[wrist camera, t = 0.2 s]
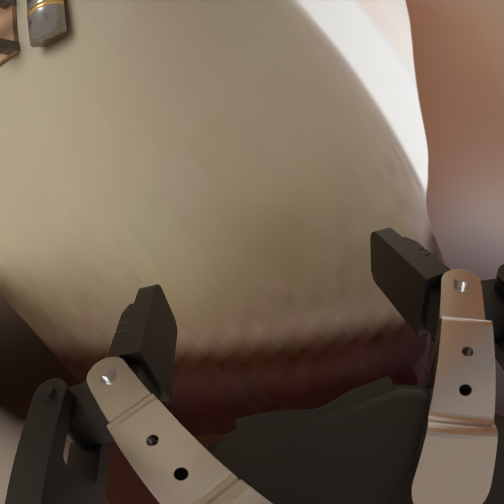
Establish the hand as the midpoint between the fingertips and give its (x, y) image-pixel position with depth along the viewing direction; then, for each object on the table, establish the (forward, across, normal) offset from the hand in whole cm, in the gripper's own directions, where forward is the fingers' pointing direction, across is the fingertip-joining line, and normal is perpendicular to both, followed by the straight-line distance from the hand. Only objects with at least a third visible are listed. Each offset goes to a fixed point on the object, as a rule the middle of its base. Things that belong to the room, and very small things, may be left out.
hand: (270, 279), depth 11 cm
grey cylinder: (+29, +18, -28) cm, 44 cm away
